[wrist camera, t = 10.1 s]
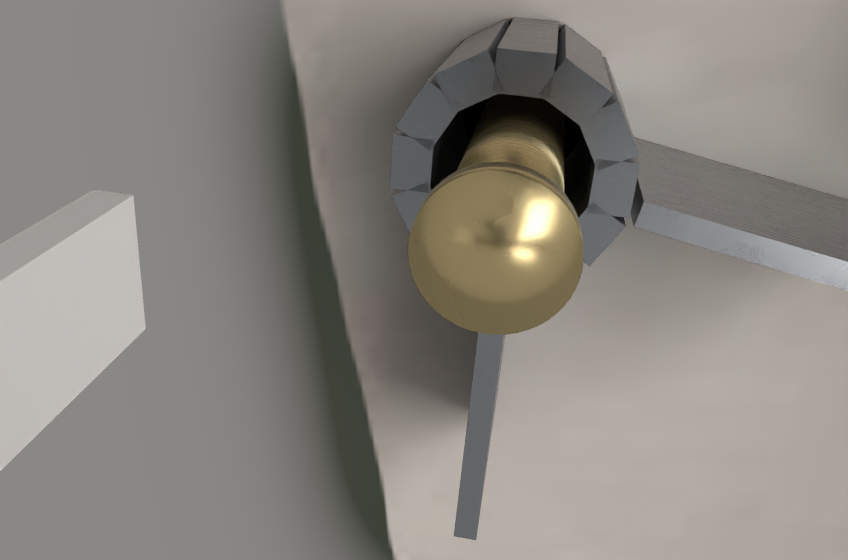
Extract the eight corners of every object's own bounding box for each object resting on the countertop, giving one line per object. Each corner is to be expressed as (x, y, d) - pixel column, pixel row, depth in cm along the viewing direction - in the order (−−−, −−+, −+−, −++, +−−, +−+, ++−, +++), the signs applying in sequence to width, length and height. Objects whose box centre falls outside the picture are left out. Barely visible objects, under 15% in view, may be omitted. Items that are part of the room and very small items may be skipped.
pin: (479, 60, 29) (413, 161, 17) (582, 71, 29) (597, 183, 16) (469, 159, 31) (402, 321, 18) (566, 171, 30) (568, 346, 18)
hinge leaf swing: (617, 154, 30) (633, 227, 23) (624, 134, 29) (644, 201, 22) (876, 230, 29) (977, 329, 22) (886, 211, 29) (993, 304, 22)
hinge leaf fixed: (440, 10, 29) (398, 37, 22) (635, 29, 28) (659, 64, 21) (408, 401, 36) (369, 521, 29) (563, 426, 35) (563, 555, 28)
